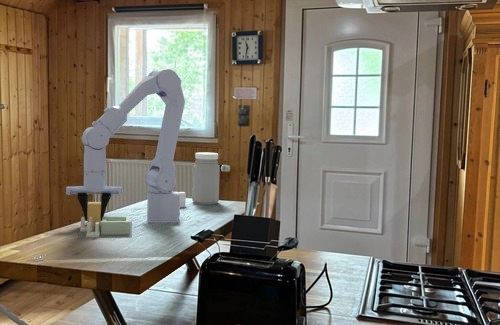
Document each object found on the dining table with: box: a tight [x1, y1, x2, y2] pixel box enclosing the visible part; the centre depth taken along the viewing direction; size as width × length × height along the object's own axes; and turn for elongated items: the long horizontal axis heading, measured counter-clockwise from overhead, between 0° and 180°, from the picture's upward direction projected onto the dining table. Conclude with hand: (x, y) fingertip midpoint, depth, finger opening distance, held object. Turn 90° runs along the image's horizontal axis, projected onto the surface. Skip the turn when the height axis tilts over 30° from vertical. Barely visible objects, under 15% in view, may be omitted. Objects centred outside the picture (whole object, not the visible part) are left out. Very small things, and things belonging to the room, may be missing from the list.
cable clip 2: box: [86, 222, 100, 237], centre depth 126 cm, size 3×3×3 cm
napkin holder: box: [178, 191, 187, 208], centre depth 171 cm, size 15×11×6 cm
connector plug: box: [86, 201, 102, 226], centre depth 138 cm, size 3×3×6 cm
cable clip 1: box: [79, 216, 93, 232], centre depth 132 cm, size 3×3×3 cm
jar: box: [191, 151, 221, 206], centre depth 181 cm, size 10×10×18 cm
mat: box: [76, 221, 133, 240], centre depth 133 cm, size 13×18×1 cm
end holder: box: [101, 215, 131, 235], centre depth 132 cm, size 7×7×3 cm
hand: (94, 220), depth 138 cm, fingers closed on connector plug, 3 cm apart
